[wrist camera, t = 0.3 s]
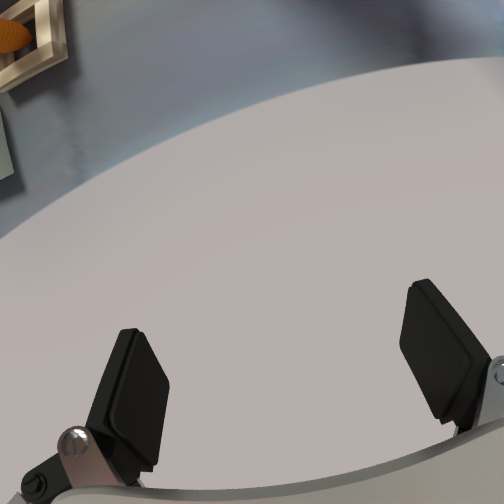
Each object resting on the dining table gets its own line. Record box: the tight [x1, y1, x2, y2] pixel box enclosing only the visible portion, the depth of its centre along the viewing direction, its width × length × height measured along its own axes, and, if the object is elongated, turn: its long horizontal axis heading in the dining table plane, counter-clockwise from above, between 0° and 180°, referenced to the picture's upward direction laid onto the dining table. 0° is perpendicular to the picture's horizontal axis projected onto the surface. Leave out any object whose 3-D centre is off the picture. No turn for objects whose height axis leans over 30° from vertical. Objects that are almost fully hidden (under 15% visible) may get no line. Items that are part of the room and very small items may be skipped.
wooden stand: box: [0, 0, 68, 93], centre depth 25 cm, size 12×12×4 cm
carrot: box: [0, 18, 33, 53], centre depth 20 cm, size 5×5×15 cm
